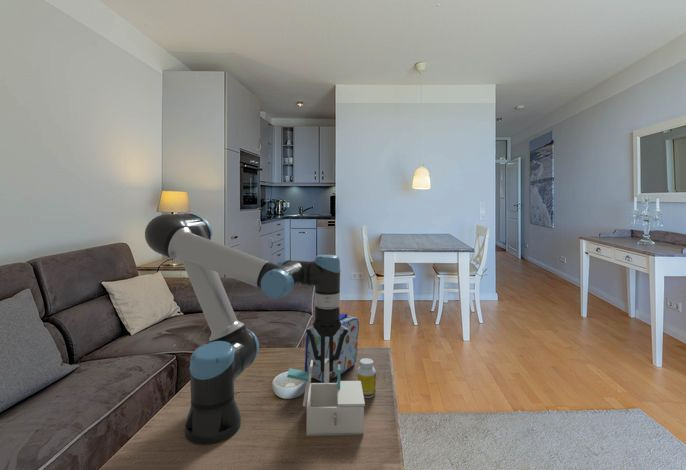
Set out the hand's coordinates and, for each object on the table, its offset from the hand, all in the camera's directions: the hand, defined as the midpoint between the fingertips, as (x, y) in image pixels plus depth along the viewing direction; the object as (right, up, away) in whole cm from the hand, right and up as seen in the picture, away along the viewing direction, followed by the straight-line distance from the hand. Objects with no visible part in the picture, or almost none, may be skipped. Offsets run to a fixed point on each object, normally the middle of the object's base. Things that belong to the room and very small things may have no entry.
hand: (326, 381), depth 108 cm
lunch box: (+1, -9, +29) cm, 30 cm away
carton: (+3, -11, -4) cm, 12 cm away
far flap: (+7, -3, -3) cm, 8 cm away
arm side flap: (-5, +1, -4) cm, 6 cm away
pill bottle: (+13, -10, +13) cm, 21 cm away
